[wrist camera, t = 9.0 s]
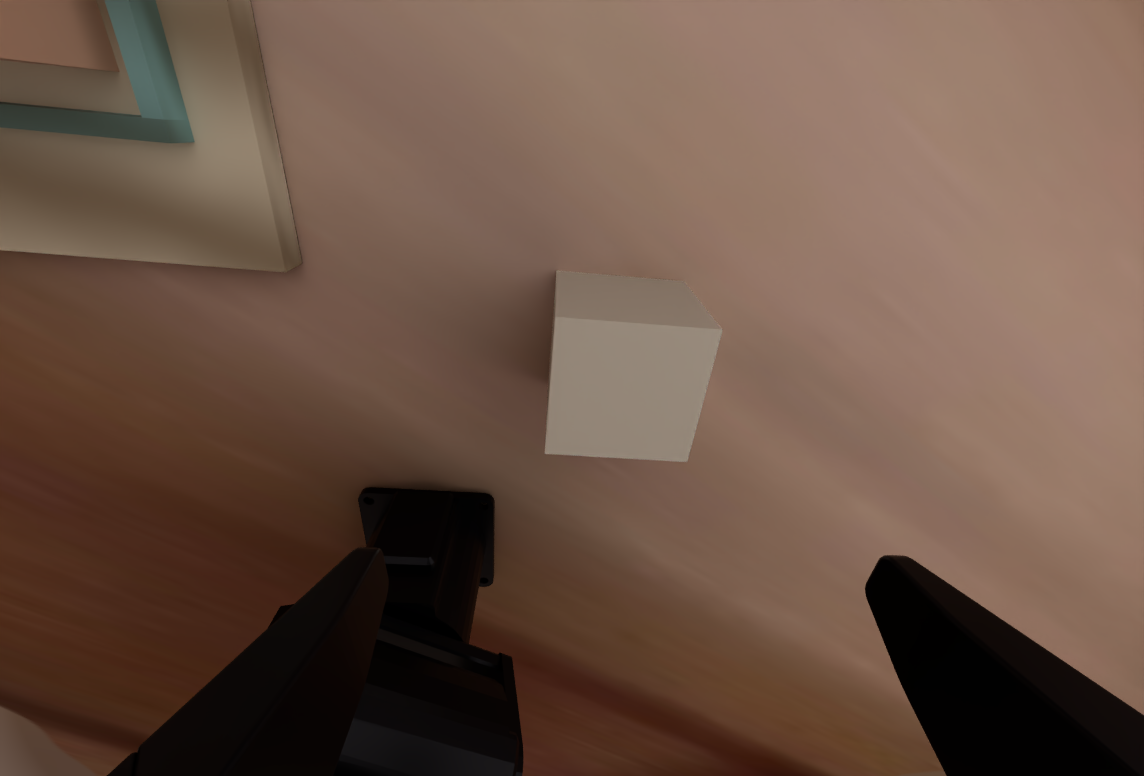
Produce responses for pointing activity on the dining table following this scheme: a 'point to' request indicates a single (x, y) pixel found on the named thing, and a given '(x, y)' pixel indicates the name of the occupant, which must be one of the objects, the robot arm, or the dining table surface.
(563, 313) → the cream block
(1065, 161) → the dining table surface
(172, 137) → the base plate
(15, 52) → the terracotta block
